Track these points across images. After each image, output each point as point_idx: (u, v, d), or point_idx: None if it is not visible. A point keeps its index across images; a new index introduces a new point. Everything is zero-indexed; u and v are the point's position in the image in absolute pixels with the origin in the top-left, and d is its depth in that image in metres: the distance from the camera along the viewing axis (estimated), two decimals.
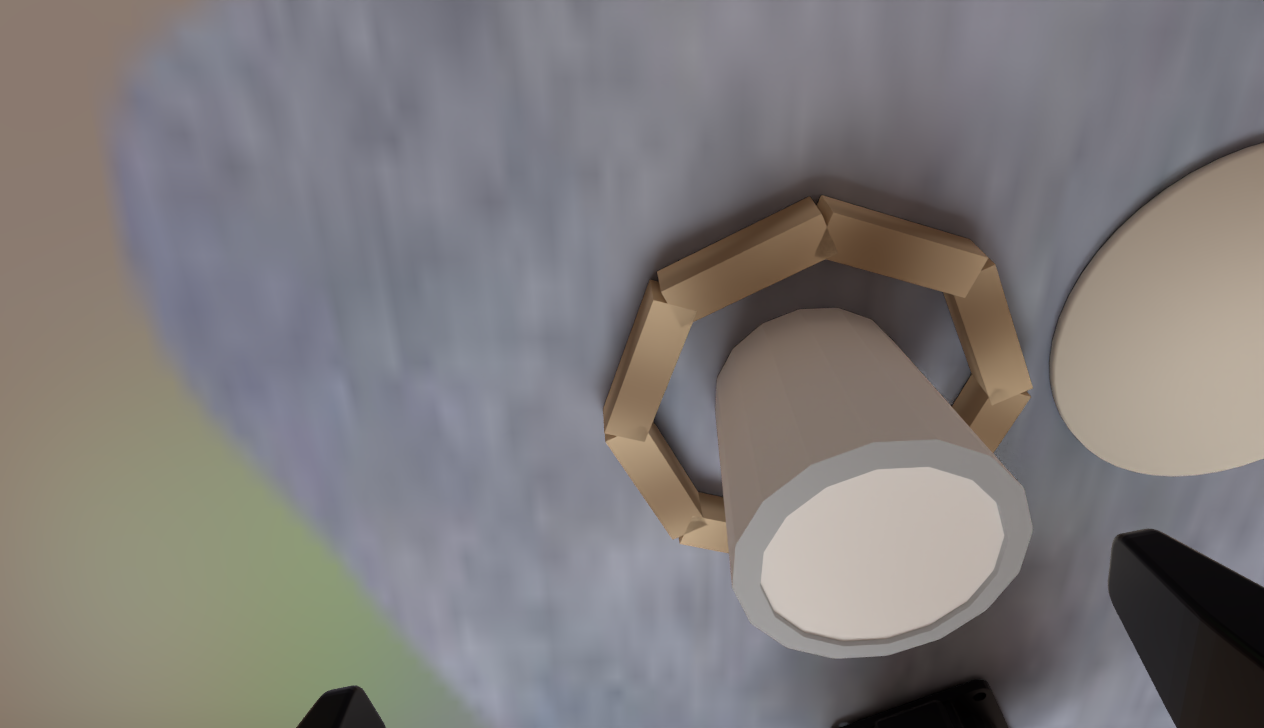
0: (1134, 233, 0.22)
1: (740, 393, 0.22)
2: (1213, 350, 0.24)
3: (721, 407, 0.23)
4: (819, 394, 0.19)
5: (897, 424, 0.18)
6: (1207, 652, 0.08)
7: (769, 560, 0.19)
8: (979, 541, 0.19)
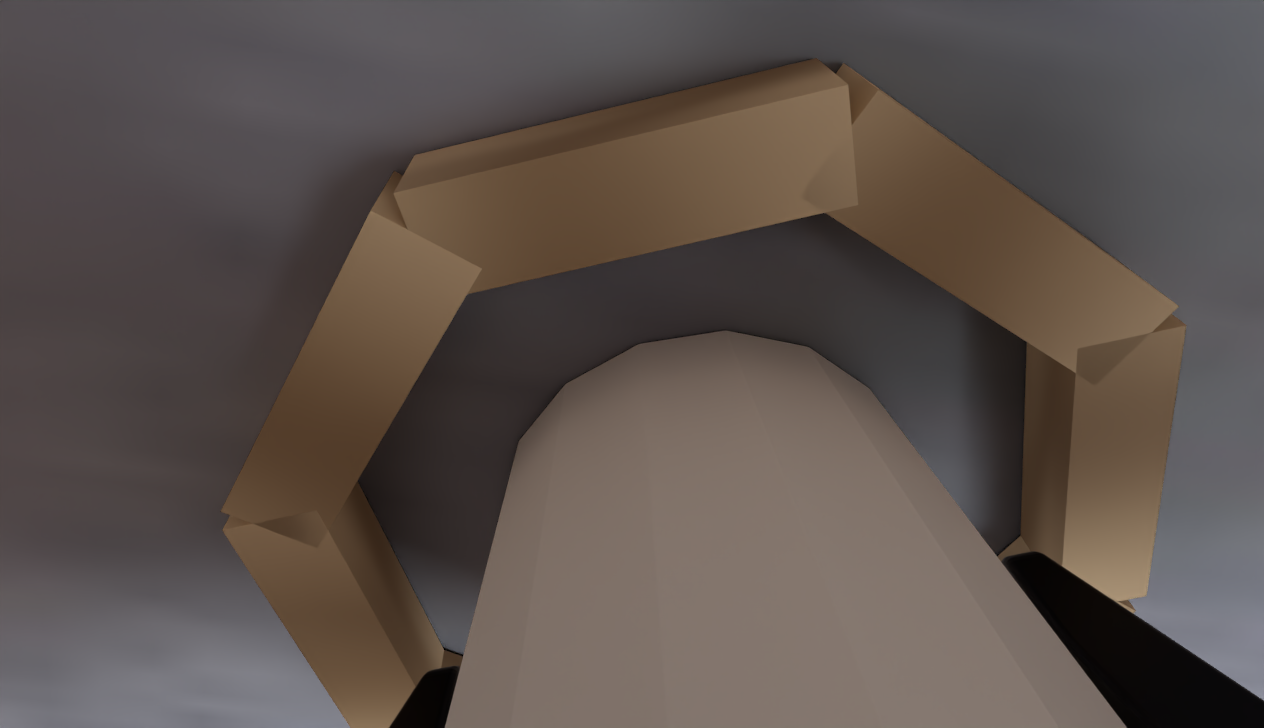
0: None
1: None
2: None
3: None
4: None
5: None
6: None
7: None
8: None
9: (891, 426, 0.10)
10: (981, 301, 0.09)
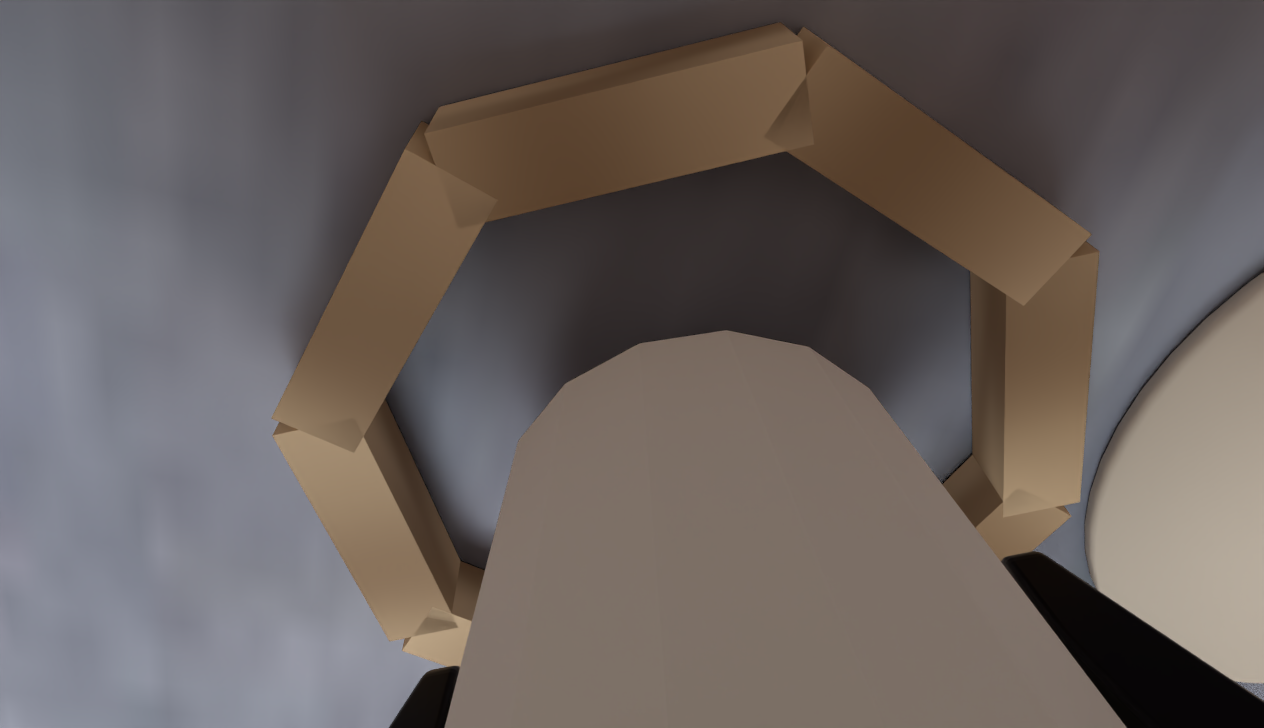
0: None
1: None
2: None
3: None
4: None
5: None
6: None
7: None
8: None
9: (891, 426, 0.10)
10: None
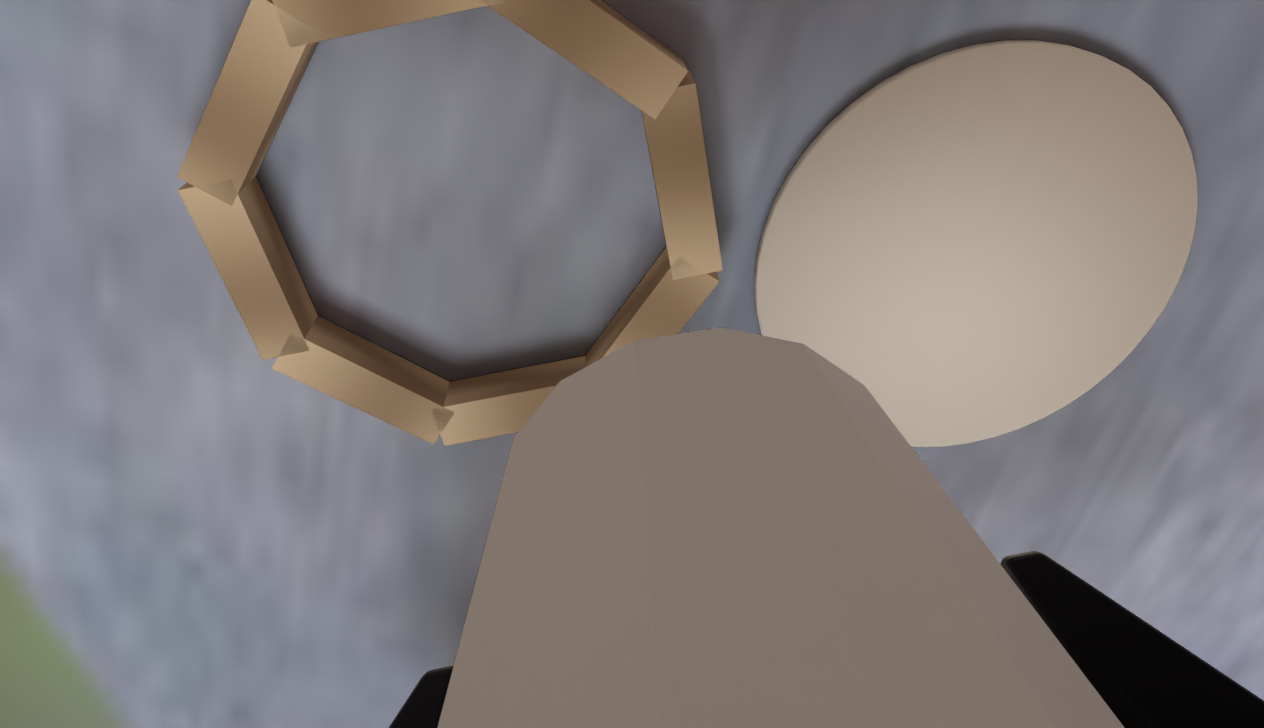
0: (867, 108, 0.19)
1: None
2: (932, 290, 0.21)
3: None
4: None
5: None
6: None
7: None
8: None
9: (886, 423, 0.10)
10: (623, 334, 0.21)
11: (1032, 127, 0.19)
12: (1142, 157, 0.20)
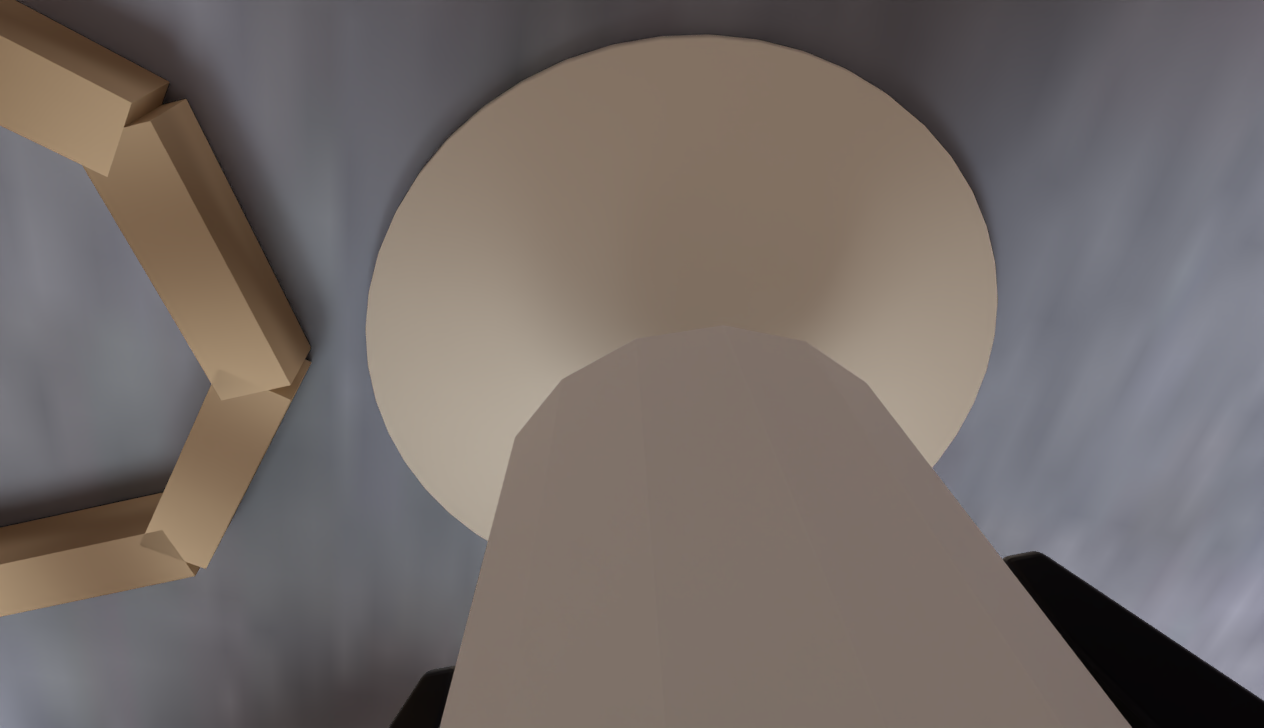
0: (463, 145, 0.12)
1: None
2: None
3: None
4: None
5: None
6: None
7: None
8: None
9: (889, 420, 0.10)
10: (178, 474, 0.14)
11: (722, 164, 0.13)
12: (899, 200, 0.13)
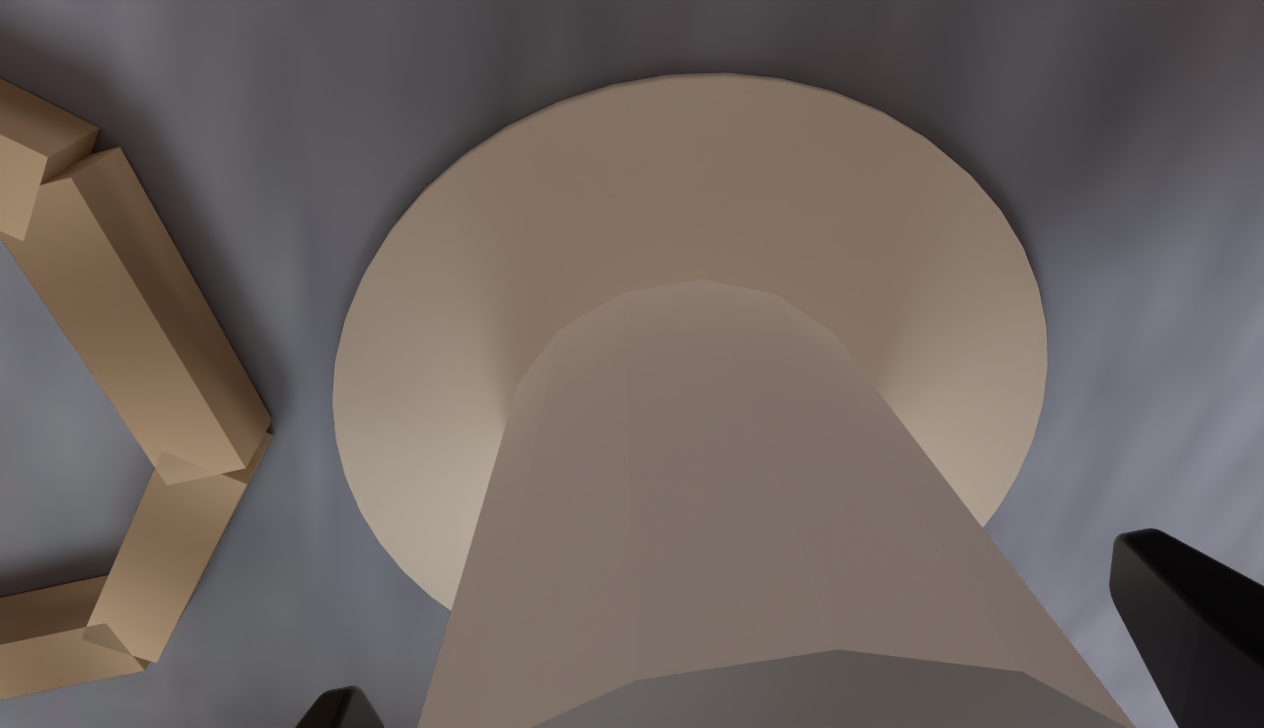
0: (440, 199, 0.11)
1: None
2: None
3: None
4: None
5: None
6: (1209, 652, 0.08)
7: None
8: None
9: (847, 359, 0.11)
10: (121, 564, 0.13)
11: (738, 219, 0.11)
12: (940, 258, 0.12)
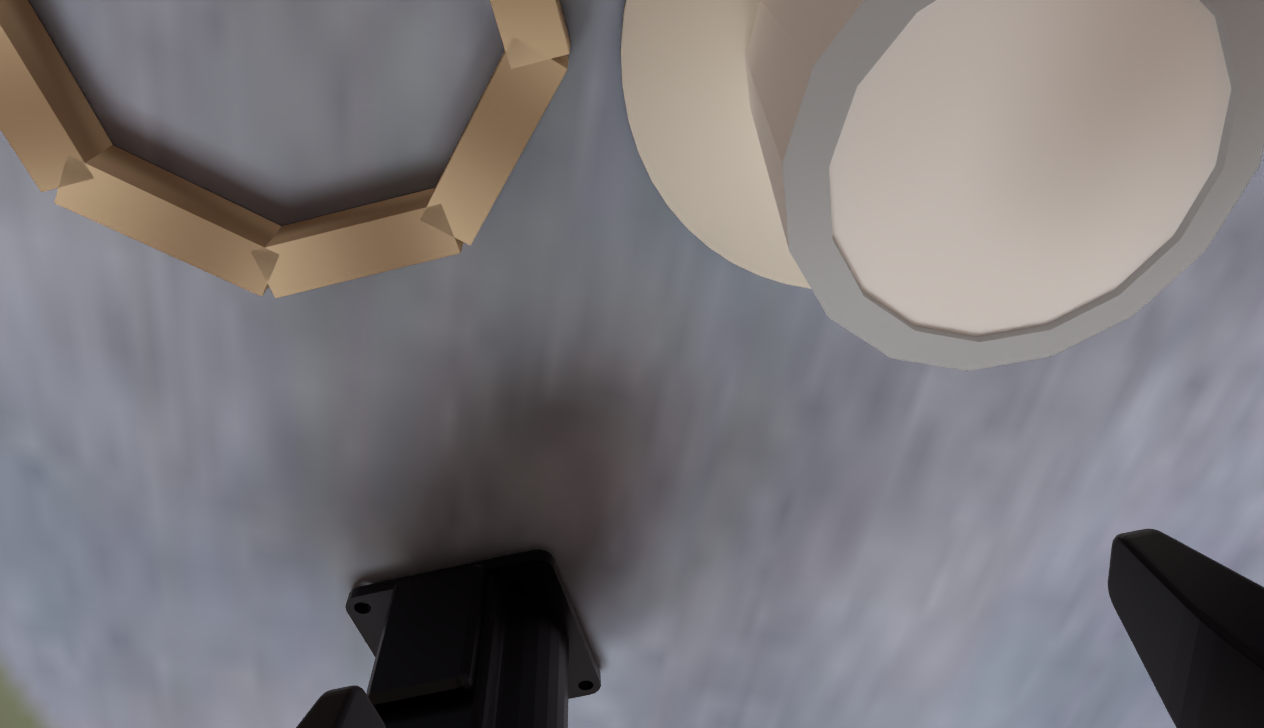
0: None
1: None
2: None
3: None
4: (768, 147, 0.14)
5: (792, 101, 0.12)
6: (1207, 652, 0.08)
7: (939, 321, 0.13)
8: None
9: None
10: (463, 146, 0.17)
11: None
12: None
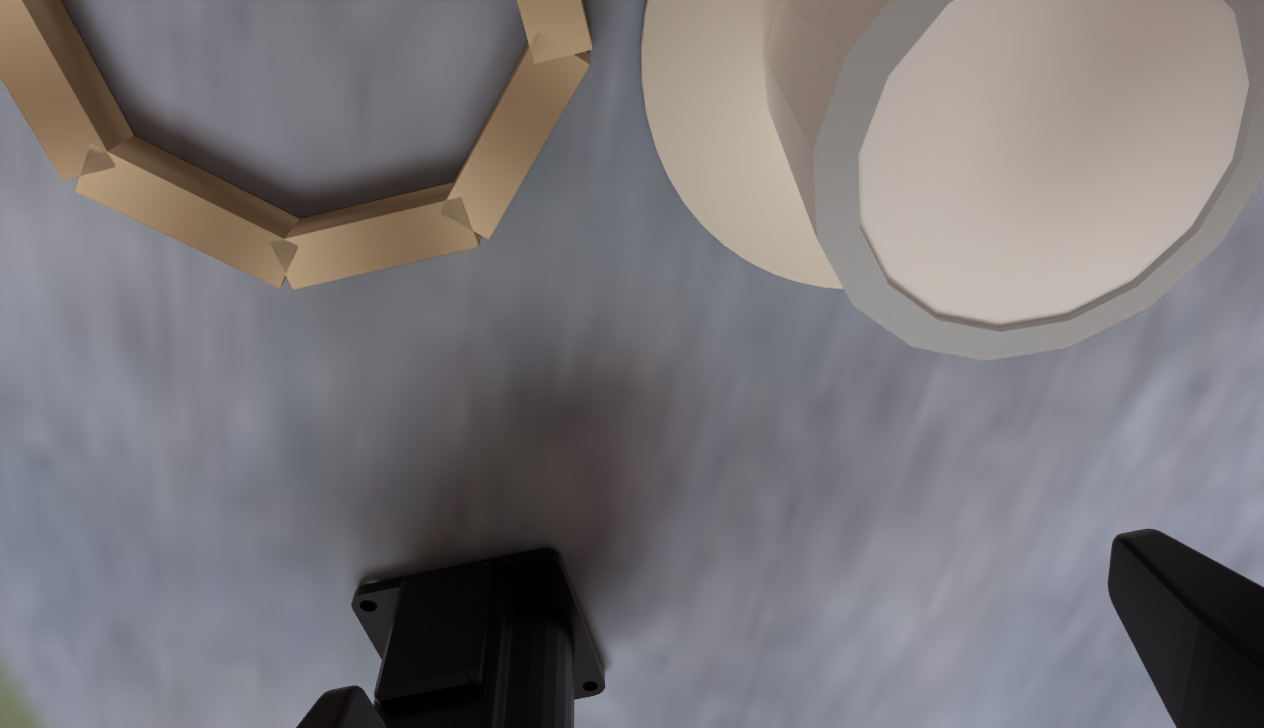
0: None
1: None
2: None
3: None
4: (792, 140, 0.14)
5: (821, 91, 0.12)
6: (1207, 652, 0.08)
7: (961, 311, 0.13)
8: None
9: None
10: (484, 139, 0.17)
11: None
12: None
